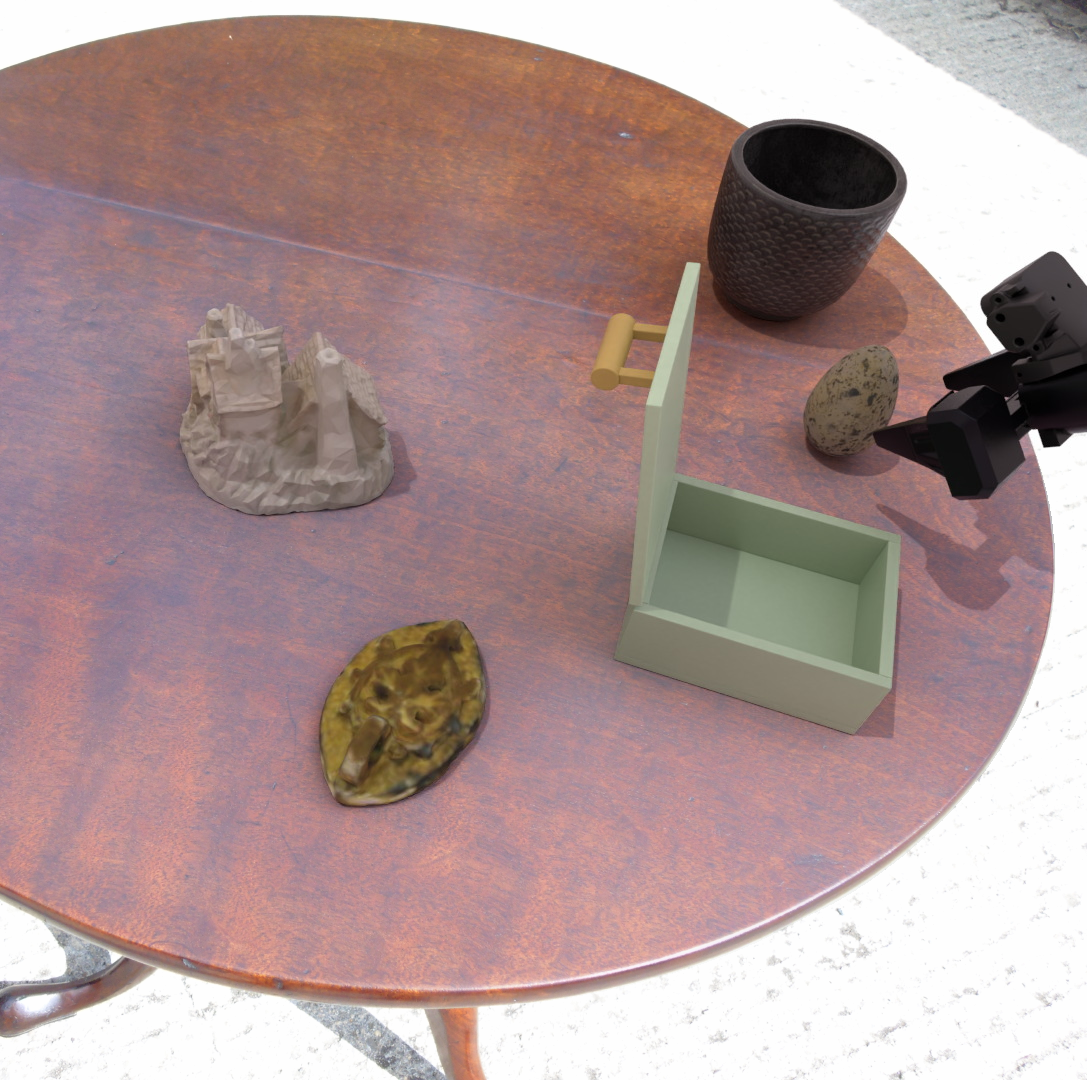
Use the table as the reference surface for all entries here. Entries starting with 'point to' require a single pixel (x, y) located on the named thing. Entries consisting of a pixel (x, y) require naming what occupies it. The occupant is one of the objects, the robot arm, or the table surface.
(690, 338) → the chest lid
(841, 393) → the decorative egg
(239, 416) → the ceramic cottage
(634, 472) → the table surface
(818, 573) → the chest
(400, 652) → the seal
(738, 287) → the planter
